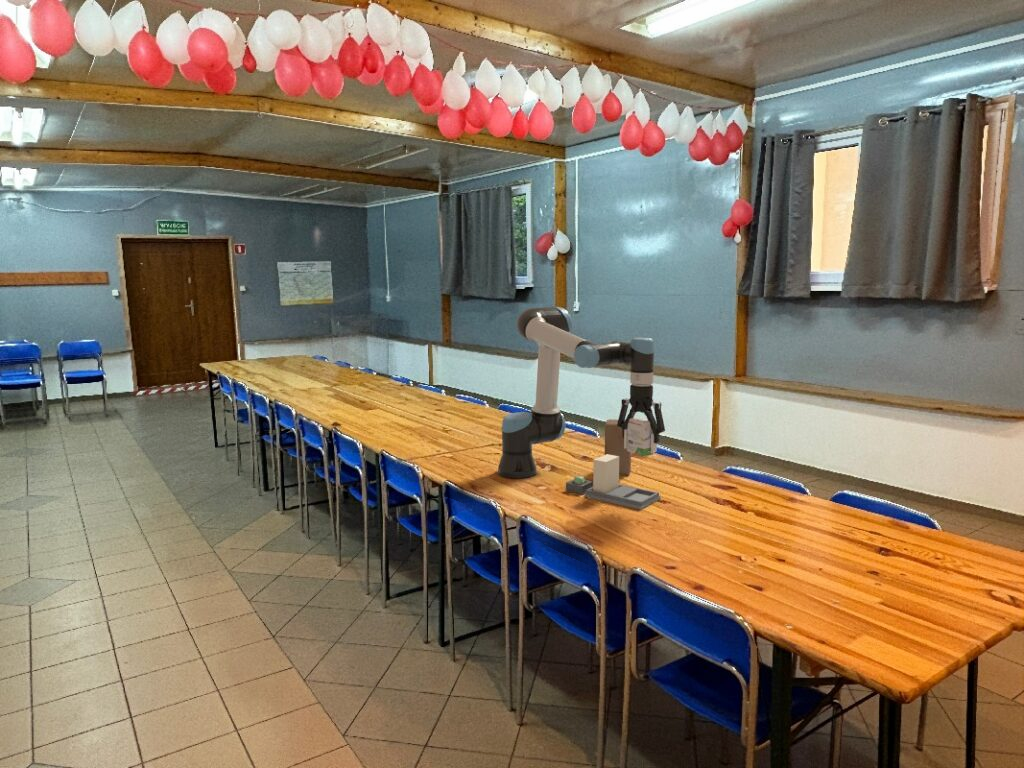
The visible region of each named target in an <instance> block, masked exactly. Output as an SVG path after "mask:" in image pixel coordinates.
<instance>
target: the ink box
mask: <svg viewBox="0 0 1024 768" xmlns="http://www.w3.org/2000/svg"><path fill="white" fill-rule="evenodd" d="M652 433H653V431H652V428H651V426H650V422H649V421H648V419H647V418H644V417H640V416H634V417H633V418H630V420H629V422H628V432H627V451H628V452H631V454H636V455H638V456H641V457H648V456H653V455H654V454H655V453H651V434H652Z"/></svg>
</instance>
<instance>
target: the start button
mask: <svg viewBox="0 0 1024 768" xmlns="http://www.w3.org/2000/svg"><path fill="white" fill-rule="evenodd" d="M573 477H574V483H575V484H580V485H582V484H584V480H585V476H583V475H575V476H573Z"/></svg>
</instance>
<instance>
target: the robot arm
mask: <svg viewBox="0 0 1024 768" xmlns="http://www.w3.org/2000/svg"><path fill="white" fill-rule="evenodd" d="M572 319H573V318H572V316H571V314H570V313H569V311H568V310H566V309H565V308H564V307H560V306H545V307H544V306H543V307H530V308H527V309H525V310H523V311H522V312H521V313H520V314H519V316H518V317H517V320H516V329H517V332H518V333H519V335H520V336H521V337H522V338H523V339H525V340H527V341H529V342H532V343H536V344H537V346H538V354H537V355H538V356H537V368H536V369H537V371H536V389H535V404H534V405H533V406H532V407H531V409H530V412H527V411H519V412H513V413H510V414H507V415H506V416H503V419H502V420H501V421H502V423H501V440H502V441H501V445H502V446H501V448H502V449H501V451H502V453H501V458H500V461H499V465H498V467H497V474H498V476H500V475H501V476H500V477H503V476H504V477H503V478H507V477H508V478H507V479H526V478H531V477H534V476H535V475H536V474H537V470H538V469H537V466H536V463H535V460H534V456H533V445H538V444H543V443H551V442H553V441H557V440H559V439H560V438H562V436H563V435H564V434H565V431H566V425H567V424H566V419H565V416H564V415H563V413H562V412H561V408H560V407H558V397H559V395H558V394H559V379H560V367H561V365H560V364H561V363H560V362H561V354H563V355H565V356H567V357H569V358H571V359H574V363H576V364H577V365H576V366H578V367H579V368H583V369H591V368H598V367H605V366H614V365H627V366H630V367H629V368H630V370H629V371H630V375H629V376H630V378H629V379H630V380H629V381H630V382H629V383H630V385H629V398H626V397H625V398H622V399H621V406H620V407H621V408H620V412H619V416H618V419H617V420H618V423H617V426H618V427H621V428H622V437H623V438H624V448H625V449H627V432H628V422H629V420H630V418H633V417H635V415H636V414H637V413H638V412H639V413H641V414H642V413H643V415H644V416H646V419H648V421H649V422H650V426H651V428H652V431H653V433H652V434H651V453H654V454H655V453H657V451H658V449H657V448H658V447H657V445H658V443H660V434H661V433H664V432H665V431H666V429H665V423H664V422H665V421H664V418H663V414H662V401H661V402H660V401H659V402H657V401H654V399H653V396H654V385H653V384H654V360H655V359H654V358H655V344H654V339H652V338H650V337H632V338H631V340H630V342H625V341H619V340H614V341H613V340H611V341H607V342H606V343H605V342H603V343H593V342H591V341H589V340H587V339H584V338H582V337H580V336H578V335H575V334H572V331H573V320H572ZM629 405H630V406H631V408H630V409H629V411H628V408H629ZM652 408H653V409H652ZM653 410H654V414H653ZM627 413H628V414H627ZM654 415H655V417H654ZM624 421H625V422H624Z"/></svg>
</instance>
